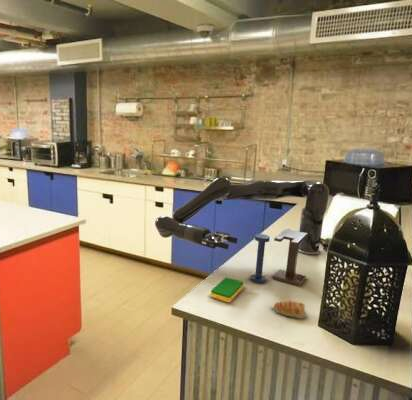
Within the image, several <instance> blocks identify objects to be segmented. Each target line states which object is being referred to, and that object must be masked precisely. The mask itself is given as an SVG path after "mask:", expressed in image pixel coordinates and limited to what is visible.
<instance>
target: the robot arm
mask: <svg viewBox="0 0 412 400" xmlns="http://www.w3.org/2000/svg"><path fill="white" fill-rule="evenodd" d="M329 197H330V189H329V187H328V186H327V185H326V184H325V183H323V182H321V181H319V180H316V179H309V180H308V179H307V180H298V181H287V180H276V179H275V180H273V179H259V180H254V181H249V182H245V183H232V182H231V181H230V180H229V179H228V178H227V177H223V176H222V177H216V178H215V179H213V181H212V182H211V183H210V184H209V185H208V186H206V188H204V189H203V190H202V191H200V193H198V194H197V195H196V196H194V197H193V198H191V199H190V200H188V201H187V202H185V203H184V204H182V205H180V206H179V207H178V208H176V209H175V210H174V211H173V212H172V217H170V216H167V215H161V216H158V217H157V218H155V221H154V226H155V228H156V230H157V232H158V234H159V236H160V237H162V238H165V239H166V238H171V237H172V236H174V237H175V238H176V239H179V240H182V241H186V242H188V243H192V244H196V245H200V246H202V247H205V248H206V247H207V248H210V249H213V250H214V249H216V248H217V249H218V248H221V249H224V250H228V249H230V244H229V243H232V244H238V243H239V238H238V237H235V236H231V234H230V233H227V232H222V231H218V230H217V231H215V232H211V230H210V228H209V227H204V226H200V225H195V224H188V223H186V222H188V221H189V220H191V219H193V218H194V217H195V216H196V215H197V214H198V213H200V212H201V211H202V210H203V209H204V208H205V207H207V206H208V205H209V204H210V203H212V202H214V201H221V202H222V201H232V200H247V201H248V200H249V201H250V200H251V201H277V200H282V199H286V198H287V199H288V198H299V199H306V200H305V205H304V207H302V209H301V213H300V221H299V229H298V231H299V232H304V233H308V235H307V236H306V237H305V238H304V239H303V240H302V241H301V242H300V243H299V250H298V253H302V254H306V255H318V254H319V253H320V246H324V247H327V246H328V244H329V243H323V241H322V231H323V223H324V216H325V213H326V211H327V208H328V202H329ZM328 247H329V246H328Z"/></svg>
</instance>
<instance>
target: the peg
mask: <svg viewBox="0 0 412 400" xmlns="http://www.w3.org/2000/svg"><path fill="white" fill-rule="evenodd" d="M270 238H271V236H269V235H268V234H264V233H257V234H255V235H254V240H255V241H256V242H257V243H258V244H257V251H256V252H257V254H256V264H255V273H254V274H251V275H250V281H251V282H253V283H256V284H265V283H266V282H267V278H266V276H264V275H263V268H264V258H265V248H266V243H269V242H270Z"/></svg>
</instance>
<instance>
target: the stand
mask: <svg viewBox="0 0 412 400" xmlns="http://www.w3.org/2000/svg"><path fill="white" fill-rule="evenodd" d="M307 235H308V233H304V232H299V230H293V229H289V228H285V229H284V230H282V231H281V232H280V233H279V234H277V235H276V236H275V237H274V239H273V241H274V242H279V243H281V242H282V241H283V240H287V241H289V243H288V252H287V261H286V269H285V270H284V269H281V268H280V269H278V270H277V271H276V272H275V273H274V274H273V276H272V280H273V279H274V280H277V281H281V282H284V283H287V284H291V285H295V286H298V287H301V285H302V284H303V282H304V281H305V280H306V278H307V276H306V275H303V274H299V273H296V272H297V264H298V256H299V251H298V250H299V243H300V242H301V241H302V240H303V239H304V238H305V237H306V236H307Z"/></svg>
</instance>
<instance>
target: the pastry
mask: <svg viewBox="0 0 412 400" xmlns="http://www.w3.org/2000/svg"><path fill="white" fill-rule="evenodd" d="M272 308H273V310H274V312H276V313H278V314H279V315H283V316H285V317H289V318H296V319H298V320H299V319H300V320H302V319H304V318H305V317H306V311H305V304H304V303H303V302H302V301H300V302H297V301H293V300H288V301H279V302H275V303H274V304H273V307H272Z"/></svg>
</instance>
